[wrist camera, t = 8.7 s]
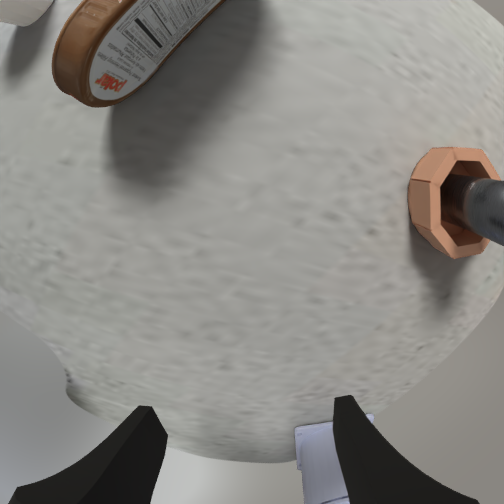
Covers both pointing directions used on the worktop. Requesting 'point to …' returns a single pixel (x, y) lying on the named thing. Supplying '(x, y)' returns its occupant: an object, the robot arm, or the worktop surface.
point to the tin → (121, 45)
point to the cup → (428, 198)
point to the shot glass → (22, 11)
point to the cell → (474, 205)
